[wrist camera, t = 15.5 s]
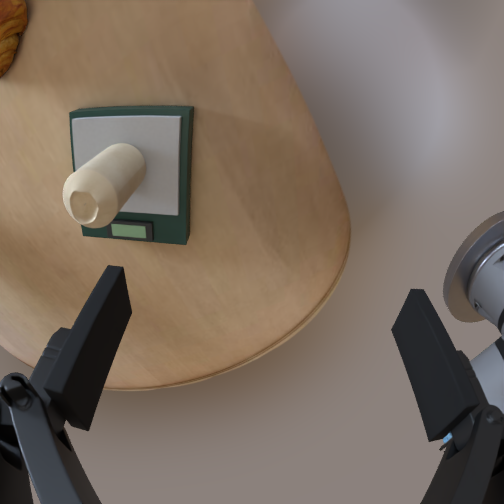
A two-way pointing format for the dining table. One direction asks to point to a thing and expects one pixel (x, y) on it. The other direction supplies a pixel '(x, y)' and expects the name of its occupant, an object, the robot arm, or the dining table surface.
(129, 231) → the scale
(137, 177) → the candle
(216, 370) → the dining table surface
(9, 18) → the croissant
